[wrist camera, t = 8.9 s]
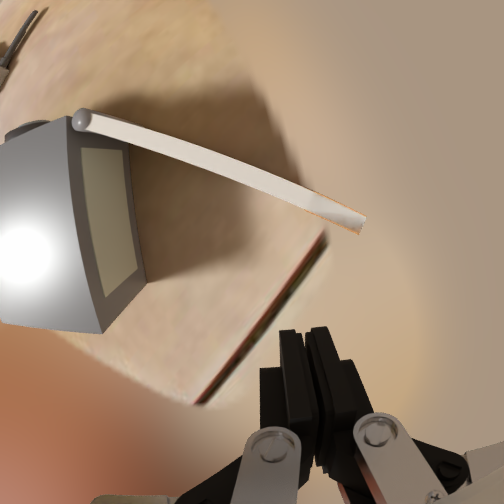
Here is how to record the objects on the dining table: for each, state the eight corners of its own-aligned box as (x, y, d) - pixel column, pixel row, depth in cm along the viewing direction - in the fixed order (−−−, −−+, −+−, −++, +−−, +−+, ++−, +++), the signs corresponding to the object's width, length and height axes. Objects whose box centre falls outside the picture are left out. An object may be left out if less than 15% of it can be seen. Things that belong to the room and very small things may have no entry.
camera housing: (32, 142, 22) (-31, 143, 13) (127, 110, 21) (67, 89, 12) (53, 285, 26) (2, 322, 17) (147, 283, 25) (103, 334, 17)
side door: (127, 137, 22) (68, 128, 13) (133, 122, 21) (76, 106, 13) (324, 213, 23) (357, 237, 15) (331, 197, 23) (368, 214, 14)
